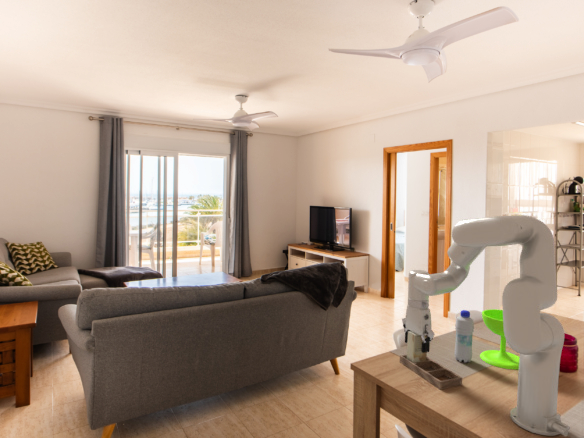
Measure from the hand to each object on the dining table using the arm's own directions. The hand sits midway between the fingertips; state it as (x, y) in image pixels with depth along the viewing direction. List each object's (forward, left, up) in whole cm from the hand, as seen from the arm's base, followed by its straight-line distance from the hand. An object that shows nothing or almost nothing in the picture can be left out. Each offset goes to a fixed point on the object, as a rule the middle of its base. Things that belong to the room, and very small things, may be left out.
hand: (416, 347), depth 144 cm
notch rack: (-7, 0, -7) cm, 10 cm away
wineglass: (-8, -35, -7) cm, 37 cm away
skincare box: (0, 0, -7) cm, 7 cm away
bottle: (-3, -20, -7) cm, 21 cm away
